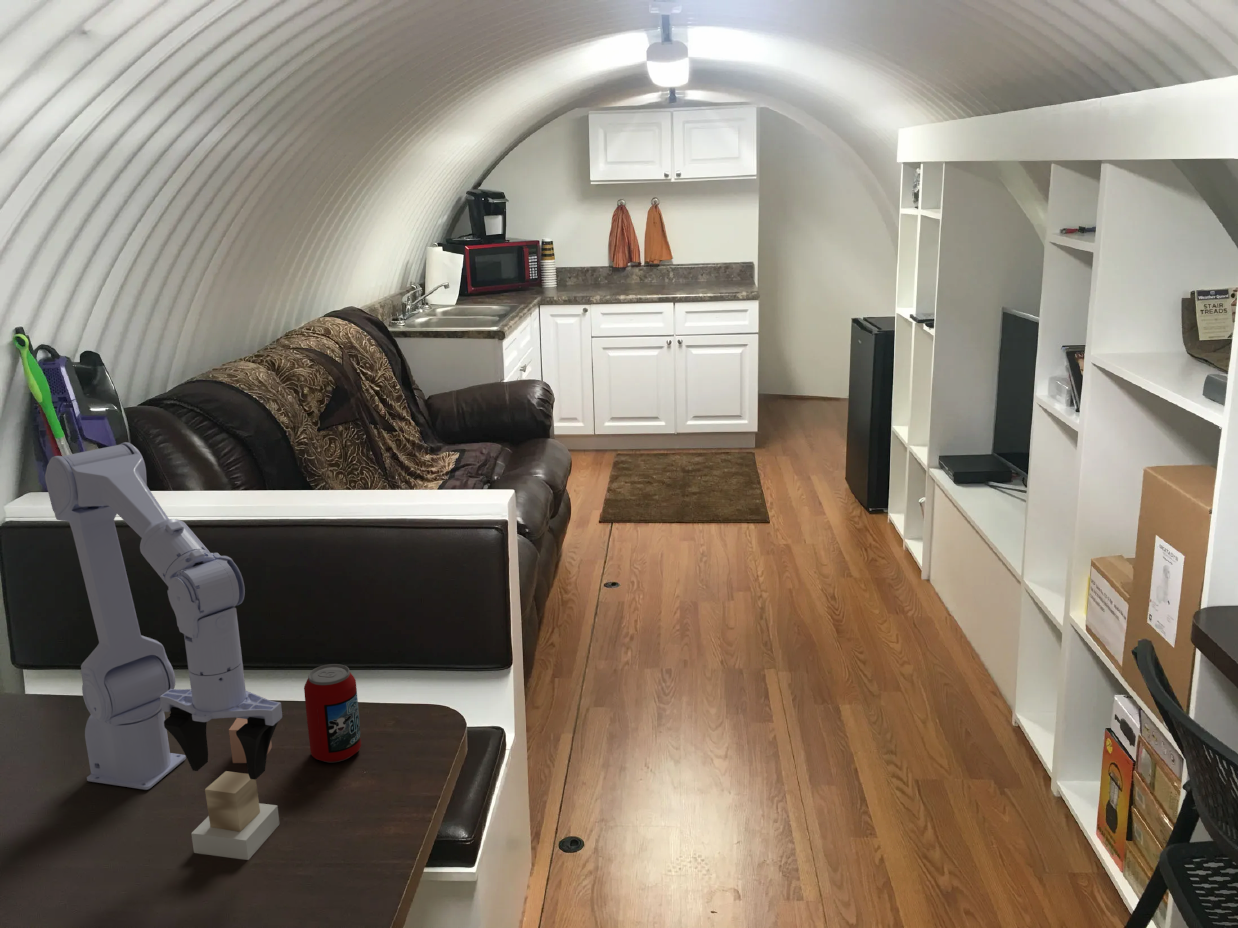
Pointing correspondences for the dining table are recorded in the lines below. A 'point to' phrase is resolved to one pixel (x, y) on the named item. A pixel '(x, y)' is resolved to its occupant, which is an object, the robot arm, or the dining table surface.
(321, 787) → the dining table surface
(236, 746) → the terracotta block
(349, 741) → the beverage can
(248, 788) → the maple block
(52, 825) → the dining table surface
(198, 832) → the grey slab
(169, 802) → the dining table surface
